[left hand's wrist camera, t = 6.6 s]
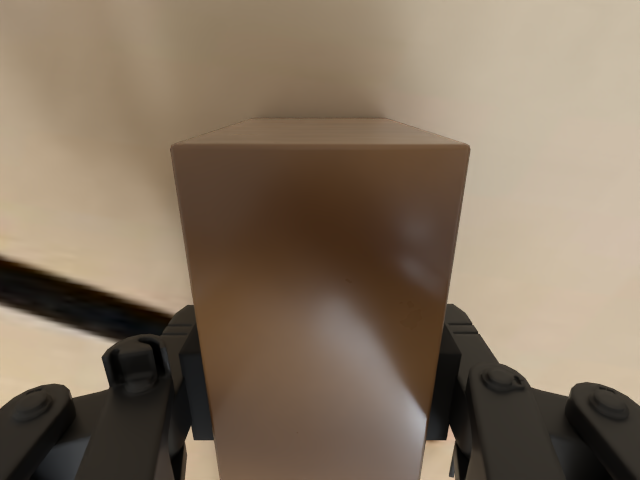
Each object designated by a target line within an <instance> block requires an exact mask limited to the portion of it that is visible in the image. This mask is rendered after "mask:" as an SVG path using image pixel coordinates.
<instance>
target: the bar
mask: <svg viewBox="0 0 640 480" xmlns="http://www.w3.org/2000/svg"><path fill="white" fill-rule="evenodd" d="M170 151H171V157H172V164H173V170H174V177H175V184H176V190H177V197H178V204H179V210H180V217H181V224H182V230H183V237H184V244H185V250H186V257H187V263H188V270H189V277H190V283H191V290H192V297H193V303H194V310H195V317H196V323H197V330H198V337H199V343H200V350H201V356H202V363H203V370H204V376H205V383H206V390H207V396H208V403H209V410H210V416H211V423H212V430H213V436H214V443H215V449H216V456H217V463H218V469H219V476H220V480H420V475H421V469H422V462H423V456H424V449H425V443H426V436H427V430H428V423H429V416H430V410H431V403H432V397H433V390H434V384H435V377H436V371H437V364H438V358H439V351H440V345H441V338H442V332H443V325H444V318H445V312H446V305H447V299H448V292H449V286H450V279H451V273H452V266H453V260H454V253H455V247H456V240H457V234H458V227H459V221H460V214H461V207H462V201H463V194H464V188H465V181H466V175H467V168H468V162H469V155H470V146H469V145H467V144H465V143H462V142H459V141H456V140H452V139H449V138H446V137H443V136H440V135H437V134H434V133H431V132H427V131H424V130H421V129H418V128H415V127H412V126H409V125H406V124H403V123H399V122H396V121H393V120H390V119H387V118H252V119H249V120H246V121H243V122H240V123H237V124H234V125H231V126H228V127H224V128H221V129H218V130H215V131H212V132H209V133H206V134H203V135H200V136H197V137H194V138H191V139H188V140H184V141H181V142H178V143H175V144H173V145H171V149H170Z"/></svg>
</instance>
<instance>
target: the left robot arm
mask: <svg viewBox="0 0 640 480" xmlns="http://www.w3.org/2000/svg"><path fill="white" fill-rule="evenodd" d="M102 361H103V364H104V368H105V371H106V375H107V379H108V382H109V386H110V387H109V389H107V390H104V391H101V392H97V393H92V394H88V395H84V396H79V397H75V398H72V396H71V393H70V390H69V389H68V388H67V387H65V386H64V385H60V384H48V385H41V386H38V387H35V388H33V389H30V390H27V391H25V392H23V393H22V394H20V395H18V396H16V397H14V398H13V399H11V400H10V401H9V402H8V403H6V404H5V405H4V406H3V407H2V408H1V409H0V480H185V471H186V460H187V452H186V446H185V439H186V437H187V434H188V432H189V429H190V426H191V427H192V432H193V438H194V440H214V436H213V430H212V423H211V416H210V410H209V403H208V396H207V390H206V383H205V376H204V370H203V363H202V356H201V350H200V343H199V337H198V330H197V323H196V317H195V310H194V305H187V306H185V307H184V308H183V309H181V310H180V311H179V312H177V313H176V314H175V315H174V316H173V318H172V319H171V321H170V322H169V324H168V326H167V327H166V328H165V330H164V331H163V333H162V335H161V336H156V335H152V334H145V335H137V336H133V337H129V338H126V339H124V340H122V341H120V342H117V343H116V344H114V345H113V346H112V347H110V348H109V349H107V351H106V352H105V353H104V355H103V356H102ZM449 424H450V427H451V429H452V432H453V434H454V437H455V439H456V441H455V446H454V451H453V456H452V461H451V466H450V472H449V477H453V478H454V473H455V480H640V406H639V405H638V404H636V403H635V402H634V401H633V400H631V399H630V398H629V397H628V396H626V395H624V394H622V393H620V392H618V391H617V390H615V389H613V388H610V387H607V386H604V385H601V384H596V383H589V382H585V383H578V384H576V385H575V386H574V387H572V388H571V391H570V394H569V397H567V396H563V395H559V394H554V393H550V392H545V391H541V390H538V389H534V388H531V387H530V385H529V383H528V382H527V380H526V379H525V378H524V377H523V376H522V375H521V374H520V373H518V372H517V371H516V370H514V369H512V368H510V367H508V366H506V365H503V364H499V362H498V361H497V359H496V358H495V356H494V355H493V353H492V352H491V350H490V349H489V347H488V346H487V345H486V343H485V342H484V340H483V339H482V337H481V336H480V334H478V331H477V330H476V328H475V327H474V325H472V322H471V321H470V319H469V318H468V316H467V315H466V313H465V312H463V311H462V310H461V309H459V308H458V307H456V306H455V305H454V304H447V305H446V312H445V318H444V325H443V332H442V338H441V345H440V351H439V358H438V364H437V371H436V377H435V384H434V390H433V397H432V403H431V410H430V416H429V423H428V430H427V436H426V440H446V439H447V434H448V428H449Z"/></svg>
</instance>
